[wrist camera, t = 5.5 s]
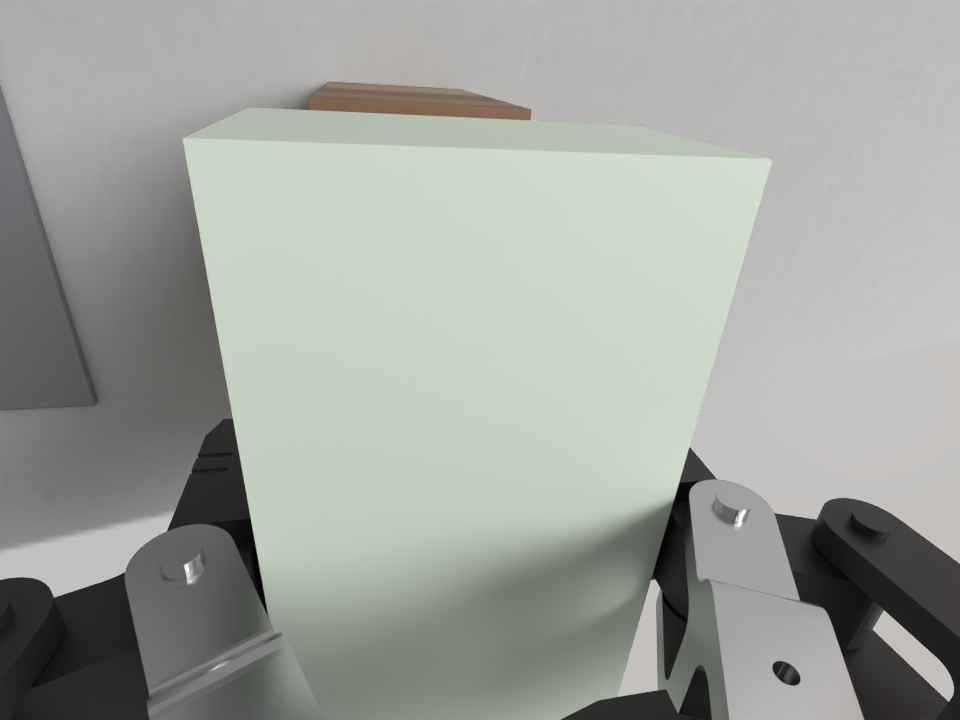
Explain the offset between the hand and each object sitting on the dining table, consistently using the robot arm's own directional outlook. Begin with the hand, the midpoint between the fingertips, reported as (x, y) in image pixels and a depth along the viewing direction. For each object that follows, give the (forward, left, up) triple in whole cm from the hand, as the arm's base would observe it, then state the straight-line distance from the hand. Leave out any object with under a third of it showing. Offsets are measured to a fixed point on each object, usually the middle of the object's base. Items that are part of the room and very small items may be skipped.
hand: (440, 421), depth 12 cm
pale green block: (0, 0, +1) cm, 1 cm away
